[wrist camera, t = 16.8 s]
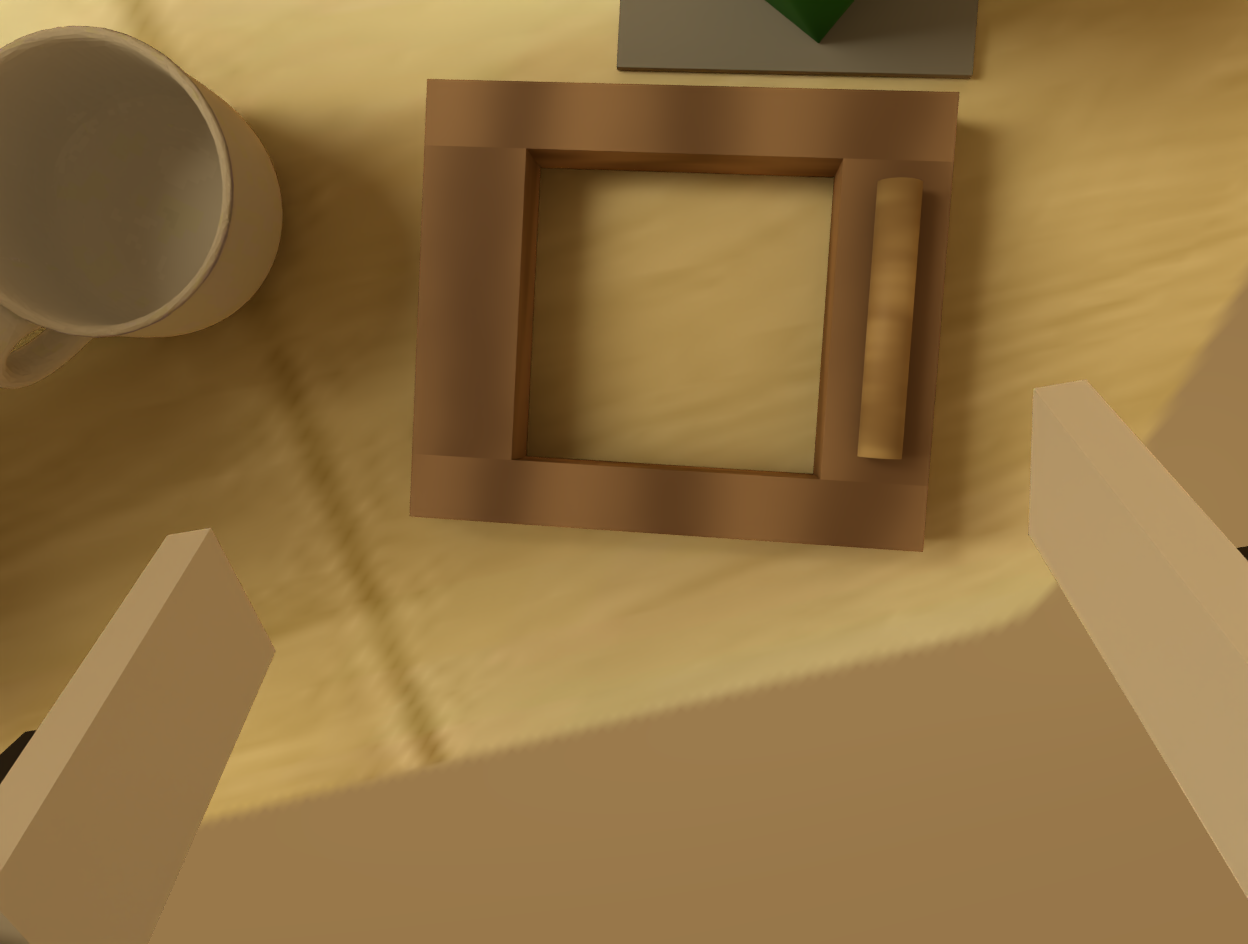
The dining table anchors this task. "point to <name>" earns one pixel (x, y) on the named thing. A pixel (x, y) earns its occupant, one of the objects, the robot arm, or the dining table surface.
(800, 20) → the soya milk
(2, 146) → the teacup
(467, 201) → the frame
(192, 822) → the robot arm
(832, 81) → the dining table surface
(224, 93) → the dining table surface
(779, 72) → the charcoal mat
